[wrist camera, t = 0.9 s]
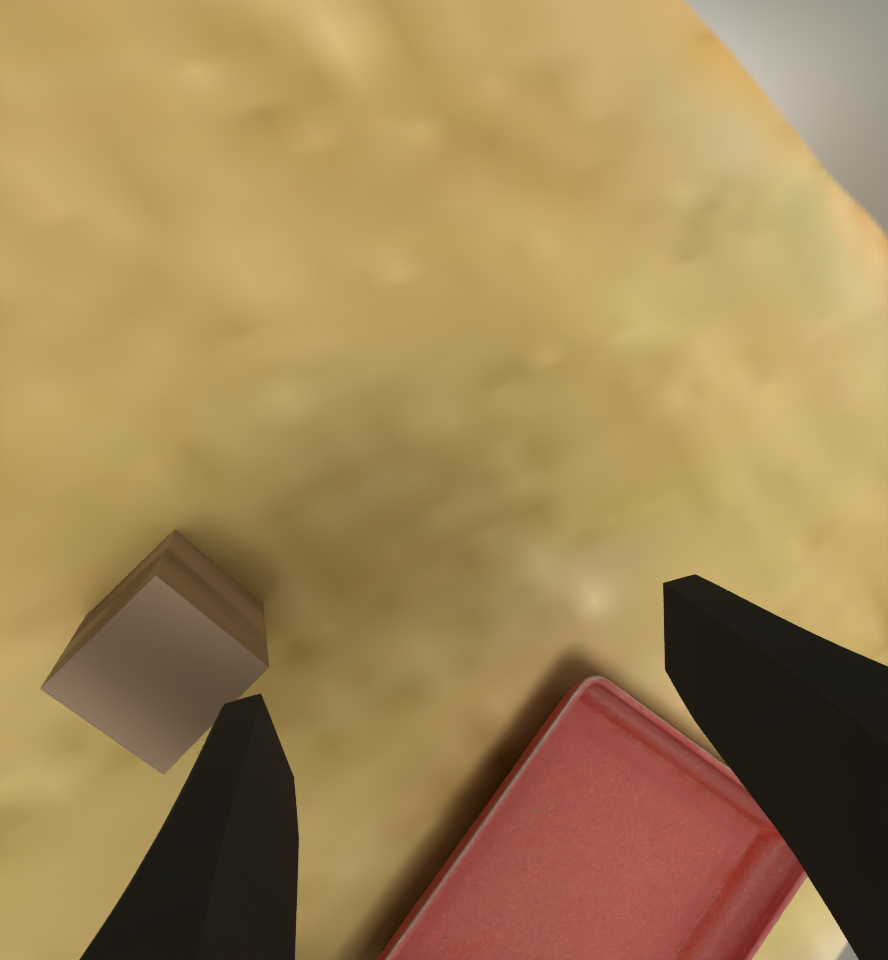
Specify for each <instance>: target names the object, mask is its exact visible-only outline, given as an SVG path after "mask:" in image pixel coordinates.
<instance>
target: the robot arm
mask: <svg viewBox="0 0 888 960" xmlns="http://www.w3.org/2000/svg"><path fill="white" fill-rule="evenodd" d="M663 594H664V642H665V670H666V672H667V674H668V676H669V677H670V679H671V681H672V683H673V685H674V686H675V688H676V690H677V692H678V694H679V695H680V697H681V699H682V700H683V702H684V704H685V706H686V707H687V709H688V711H689V712H690V714H691V716H692V717H693V719H694V720H695V722H696V723H697V724H698V726H699V727H700V729H701V730H702V731H703V733H704V734H705V735H706V737H707V738H708V739H709V741H710V742H711V743H712V745H713V746H714V747H715V749H716V750H717V751H718V753H719V754H720V755H721V757H722V758H723V759H724V761H725V762H726V763H727V765H728V766H729V767H730V769H731V770H732V771H733V773H734V774H735V775H736V776H737V778H738V779H739V780H740V782H741V783H742V784H743V786H744V787H745V788H746V790H747V791H748V792H749V794H750V795H751V796H752V797H753V799H754V800H755V801H756V803H757V804H758V805H759V807H760V808H761V809H762V811H763V812H764V813H765V815H766V816H767V817H768V819H769V820H770V821H771V822H772V824H773V825H774V826H775V828H776V829H777V830H778V832H779V833H780V835H781V836H782V838H783V839H784V840H785V842H786V843H787V845H788V846H789V848H790V849H791V850H792V852H793V853H794V855H795V856H796V858H797V859H798V861H799V863H800V864H801V866H802V867H803V869H804V871H805V872H806V874H807V875H808V877H809V879H810V880H811V882H812V883H813V885H814V887H815V888H816V890H817V891H818V893H819V895H820V896H821V898H822V899H823V901H824V902H825V904H826V906H827V907H828V909H829V910H830V912H831V914H832V915H833V917H834V919H835V920H836V922H837V924H838V925H839V927H840V929H841V930H842V932H843V934H844V935H845V937H846V939H847V940H848V942H849V944H850V945H851V947H852V949H853V950H854V952H855V954H856V956H857V957H858V959H859V960H888V666H886V665H883V664H881V663H878V662H876V661H874V660H871V659H869V658H867V657H864V656H862V655H860V654H858V653H855V652H853V651H851V650H848V649H846V648H844V647H841V646H839V645H837V644H835V643H833V642H830V641H828V640H826V639H824V638H822V637H820V636H817V635H815V634H813V633H811V632H809V631H807V630H805V629H803V628H801V627H799V626H797V625H795V624H793V623H791V622H789V621H787V620H784V619H782V618H781V617H779V616H777V615H775V614H773V613H771V612H769V611H767V610H765V609H763V608H761V607H759V606H757V605H755V604H753V603H751V602H749V601H747V600H745V599H743V598H741V597H739V596H737V595H736V594H734V593H732V592H730V591H728V590H726V589H724V588H722V587H720V586H718V585H716V584H714V583H712V582H710V581H708V580H706V579H704V578H702V577H700V576H698V575H695V574H694V575H691V576H687V577H683V578H680V579H676V580H672V581H669V582H665V583H663ZM298 848H299V835H298V821H297V807H296V796H295V784H294V776H293V774H292V771H291V769H290V766H289V764H288V761H287V759H286V756H285V753H284V751H283V748H282V746H281V743H280V741H279V738H278V735H277V733H276V730H275V728H274V725H273V723H272V720H271V718H270V715H269V712H268V710H267V707H266V705H265V702H264V700H263V697H262V695H261V694H258V695H254V696H250V697H247V698H243V699H239V700H236V701H232V702H229V703H225V704H224V705H223V707H222V708H221V710H220V711H219V714H218V716H217V718H216V720H215V722H214V724H213V726H212V729H211V731H210V733H209V735H208V737H207V739H206V741H205V744H204V746H203V748H202V750H201V752H200V754H199V756H198V758H197V760H196V762H195V764H194V766H193V768H192V770H191V772H190V774H189V777H188V779H187V781H186V782H185V784H184V786H183V788H182V790H181V792H180V794H179V796H178V798H177V800H176V802H175V803H174V805H173V807H172V809H171V811H170V813H169V815H168V817H167V819H166V821H165V823H164V824H163V826H162V828H161V830H160V832H159V833H158V835H157V837H156V839H155V840H154V842H153V844H152V846H151V847H150V849H149V851H148V852H147V854H146V856H145V858H144V859H143V861H142V863H141V864H140V866H139V868H138V870H137V871H136V873H135V875H134V876H133V878H132V880H131V882H130V883H129V885H128V886H127V888H126V890H125V891H124V893H123V895H122V896H121V898H120V899H119V901H118V902H117V904H116V906H115V907H114V909H113V910H112V912H111V913H110V915H109V917H108V918H107V920H106V921H105V923H104V924H103V926H102V927H101V929H100V930H99V932H98V933H97V935H96V936H95V938H94V939H93V941H92V942H91V943H90V945H89V946H88V948H87V949H86V951H85V952H84V954H83V955H82V957H81V958H80V960H295V937H296V910H297V881H298Z"/></svg>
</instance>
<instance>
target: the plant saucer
mask: <svg viewBox="0 0 888 960" xmlns="http://www.w3.org/2000/svg"><path fill="white" fill-rule="evenodd" d="M807 877H808V875H807V874H806V872H805V871H804V869H803V867H802V866H801V864H800V863H799V861H798V859H797V858H796V856H795V855H794V853H793V852H792V850H791V849H790V848H789V846H788V845H787V843H786V842H785V840H784V839H783V838H782V836H781V835H780V833H779V832H778V830H777V829H776V828H775V826H774V825H773V824H772V822H771V821H770V820H769V819H768V817H767V816H766V815H765V813H764V812H763V811H762V809H761V808H760V807H759V805H758V804H757V803H756V801H755V800H754V799H753V797H752V796H751V795H750V794H749V792H748V791H747V790H746V788H745V787H744V786H743V784H742V783H741V782H740V780H739V779H738V778H737V776H736V775H735V774H734V773H733V771H732V770H731V769H730V768H729V767H727V766H726V765H725V764H723V763H722V762H720V761H719V760H717V759H716V758H715V757H714V756H712V755H711V754H710V753H709V752H707V751H706V750H705V749H703V748H702V747H700V746H699V745H697V744H696V743H695V742H693V741H692V740H690V739H689V738H687V737H686V736H685V735H684V734H682V733H681V732H679V731H678V730H676V729H675V728H674V727H672V726H671V725H670V724H668V723H667V722H666V721H665V720H663V719H662V718H660V717H659V716H657V715H656V714H655V713H653V712H652V711H650V710H649V709H648V708H646V707H645V706H644V705H643V704H641V703H640V702H638V701H637V700H636V699H634V698H633V697H632V696H630V695H629V694H628V693H627V692H625V691H624V690H622V689H620V688H619V687H618V686H616V685H615V684H614V683H612V682H611V681H610V680H608V679H607V678H605V677H603V676H599V675H596V676H589V677H587V678H585V679H584V680H582V681H580V682H579V683H577V684H575V685H574V686H573V687H572V688H571V689H570V690H569V691H568V692H567V693H566V695H565V696H564V697H563V698H562V699H561V701H560V702H559V703H558V705H557V706H556V707H555V709H554V710H553V711H552V713H551V714H550V716H549V717H548V718H547V720H546V721H545V723H544V724H543V725H542V727H541V728H540V730H539V731H538V733H537V734H536V735H535V737H534V738H533V740H532V741H531V742H530V744H529V745H528V747H527V748H526V749H525V751H524V752H523V754H522V755H521V757H520V758H519V760H518V761H517V762H516V764H515V765H514V767H513V768H512V769H511V771H510V772H509V774H508V775H507V777H506V778H505V779H504V781H503V782H502V783H501V785H500V786H499V788H498V789H497V791H496V792H495V793H494V795H493V796H492V798H491V799H490V801H489V802H488V803H487V805H486V806H485V807H484V809H483V810H482V812H481V813H480V814H479V816H478V817H477V819H476V820H475V821H474V823H473V824H472V826H471V827H470V828H469V830H468V831H467V833H466V834H465V836H464V837H463V838H462V840H461V841H460V843H459V844H458V845H457V847H456V848H455V849H454V851H453V853H452V854H451V855H450V856H449V858H448V859H447V861H446V862H445V863H444V865H443V866H442V868H441V869H440V871H439V872H438V873H437V874H436V876H435V877H434V879H433V880H432V882H431V883H430V885H429V886H428V887H427V889H426V890H425V892H424V893H423V894H422V896H421V897H420V899H419V900H418V901H417V903H416V904H415V905H414V906H413V908H412V910H411V911H410V913H409V914H408V915H407V917H406V918H405V920H404V921H403V922H402V924H401V925H400V927H399V928H398V929H397V931H396V932H395V934H394V935H393V936H392V938H391V939H390V941H389V942H388V944H387V945H386V946H385V948H384V949H383V951H382V952H381V954H380V955H379V957H378V958H377V960H752V958H753V957H754V955H755V954H756V953H757V951H758V950H759V948H760V946H761V945H762V943H763V942H764V940H765V939H766V937H767V936H768V934H769V933H770V931H771V930H772V928H773V926H774V925H775V924H776V923H777V921H778V920H779V918H780V916H781V915H782V913H783V911H784V910H785V909H786V907H787V906H788V905H789V903H790V902H791V901H792V899H793V897H794V895H795V894H796V893H797V891H798V890H799V888H800V887H801V885H802V884H803V883H804V881H805V880H806V878H807Z"/></svg>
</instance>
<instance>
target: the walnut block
mask: <svg viewBox="0 0 888 960" xmlns="http://www.w3.org/2000/svg"><path fill="white" fill-rule="evenodd" d="M268 667H269V663H268V653H267V643H266V632H265V622H264V612H263V604H262V603H260V602H259V601H258V600H257V599H256V598H254V597H253V596H252V595H251V594H250V593H249V592H247V591H246V590H245V589H244V588H243V587H241V586H240V585H239V584H238V583H237V582H236V581H234V580H233V579H232V578H231V577H230V576H228V575H227V574H226V573H225V572H224V571H223V570H221V569H220V568H219V567H218V566H217V565H215V564H214V563H213V562H212V561H211V560H210V559H208V558H207V557H206V556H205V555H204V554H203V553H201V552H200V551H199V550H198V549H197V548H195V547H194V546H193V545H192V544H191V543H190V542H188V541H187V540H186V539H185V538H184V537H182V536H181V535H180V534H179V533H178V532H177V531H175V530H174V531H173V532H172V533H171V534H170V535H169V536H168V537H167V538H166V539H164V540H163V541H162V542H161V543H160V544H159V545H158V546H157V547H156V548H155V549H154V550H153V551H152V552H151V553H150V554H149V555H148V556H147V557H146V558H145V559H144V560H143V561H142V562H141V563H140V564H139V565H138V566H137V567H136V568H135V569H134V570H133V571H132V572H131V573H130V574H129V575H128V576H127V577H126V578H125V579H124V580H123V581H122V582H121V583H120V584H118V585H117V586H116V587H115V588H114V589H113V590H112V591H111V592H110V593H109V594H108V595H107V596H106V597H105V598H104V599H103V600H102V601H101V602H100V603H99V604H98V605H97V606H96V607H95V608H94V609H93V610H92V611H91V612H90V613H89V614H88V615H87V616H86V617H85V618H84V620H83V622H82V623H81V625H80V626H79V628H78V629H77V631H76V633H75V634H74V636H73V637H72V639H71V641H70V642H69V644H68V645H67V647H66V649H65V650H64V652H63V653H62V655H61V657H60V658H59V660H58V661H57V663H56V665H55V666H54V668H53V669H52V671H51V672H50V674H49V676H48V677H47V679H46V680H45V682H44V684H43V685H42V687H41V688H40V689H41V690H43V691H44V692H46V693H47V694H48V695H50V696H51V697H53V698H54V699H56V700H57V701H59V702H60V703H61V704H63V705H64V706H66V707H67V708H69V709H70V710H71V711H73V712H74V713H76V714H77V715H79V716H80V717H81V718H83V719H84V720H86V721H87V722H89V723H90V724H92V725H93V726H94V727H96V728H97V729H99V730H100V731H102V732H103V733H104V734H106V735H107V736H109V737H110V738H112V739H113V740H115V741H116V742H117V743H119V744H120V745H122V746H123V747H125V748H126V749H127V750H129V751H130V752H132V753H133V754H135V755H136V756H137V757H139V758H140V759H142V760H143V761H145V762H146V763H148V764H149V765H150V766H152V767H153V768H155V769H156V770H158V771H159V772H160V773H162V774H163V775H164V774H165V773H166V772H167V771H168V770H169V769H170V768H171V767H172V766H173V765H174V764H175V763H176V762H177V761H178V759H179V758H180V757H181V756H182V755H183V754H184V753H185V752H186V751H187V750H188V749H189V748H190V747H191V746H192V745H193V744H194V743H195V742H196V741H197V740H198V739H199V738H200V737H201V736H202V735H203V734H204V733H205V732H206V731H207V730H208V729H209V728H210V727H211V726H212V725H213V724H214V722H215V720H216V718H217V716H218V714H219V711H220V710H221V708H222V707H223V705H224V704H225V703H229V702H232V701H236V700H237V699H238V698H239V697H240V696H241V695H242V694H243V693H244V692H245V691H246V690H247V689H248V688H249V687H250V686H251V685H252V684H253V683H254V682H255V681H256V680H257V679H258V678H259V677H260V676H261V675H262V674H263V673H264V671H265V670H266V669H267V668H268Z"/></svg>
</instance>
